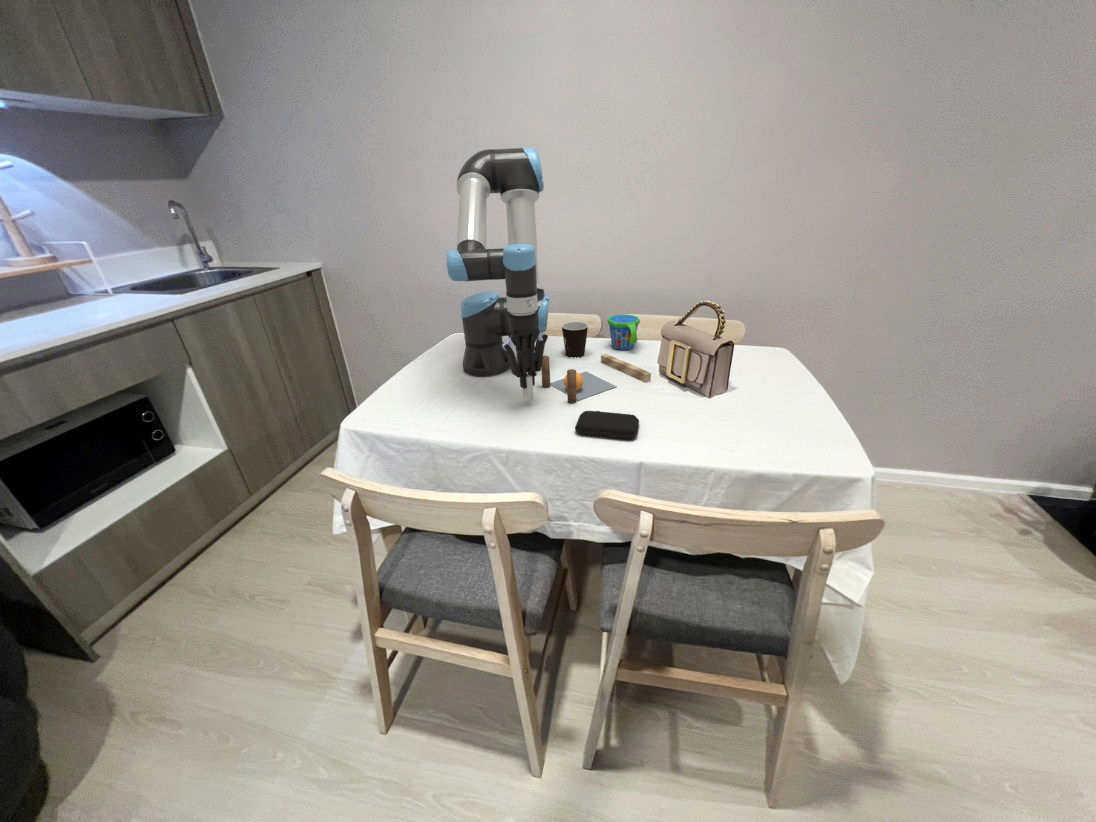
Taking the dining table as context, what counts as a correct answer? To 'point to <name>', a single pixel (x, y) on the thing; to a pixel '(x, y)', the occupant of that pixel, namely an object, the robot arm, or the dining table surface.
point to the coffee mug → (574, 338)
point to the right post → (571, 385)
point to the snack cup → (623, 331)
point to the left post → (545, 372)
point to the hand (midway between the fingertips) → (528, 397)
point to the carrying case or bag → (607, 425)
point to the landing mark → (586, 386)
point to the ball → (578, 381)
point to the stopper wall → (626, 368)
